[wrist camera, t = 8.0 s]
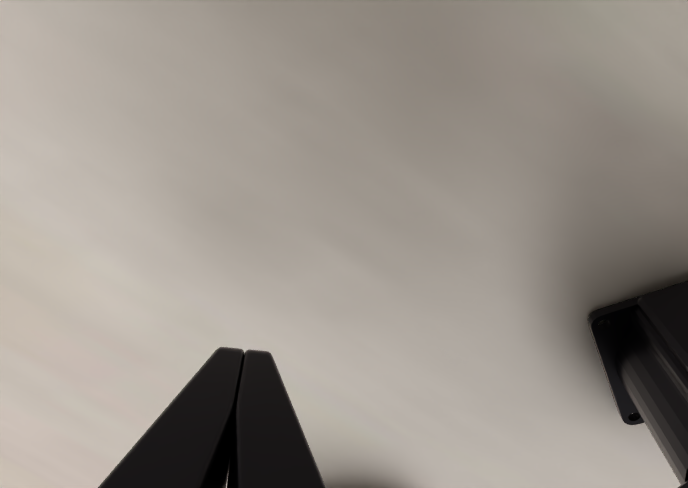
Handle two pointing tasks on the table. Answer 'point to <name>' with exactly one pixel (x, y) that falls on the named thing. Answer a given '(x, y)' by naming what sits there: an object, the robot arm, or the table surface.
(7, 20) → the table surface
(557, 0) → the table surface
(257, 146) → the table surface
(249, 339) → the table surface
